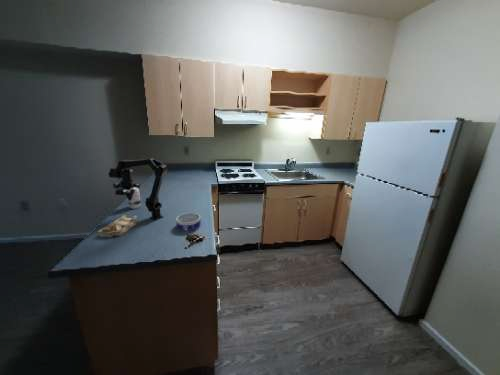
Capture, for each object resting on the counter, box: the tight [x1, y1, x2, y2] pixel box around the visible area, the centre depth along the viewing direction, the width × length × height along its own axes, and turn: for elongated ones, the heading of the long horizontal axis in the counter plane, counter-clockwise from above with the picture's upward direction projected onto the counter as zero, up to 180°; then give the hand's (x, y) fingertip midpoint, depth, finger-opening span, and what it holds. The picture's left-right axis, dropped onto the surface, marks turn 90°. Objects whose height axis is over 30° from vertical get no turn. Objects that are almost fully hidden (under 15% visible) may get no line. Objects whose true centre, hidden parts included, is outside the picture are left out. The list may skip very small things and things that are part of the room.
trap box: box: [97, 214, 138, 238], centre depth 135 cm, size 24×12×3 cm, turn 173°
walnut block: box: [101, 223, 117, 232], centre depth 128 cm, size 6×4×4 cm, turn 173°
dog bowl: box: [175, 212, 202, 232], centre depth 140 cm, size 15×15×6 cm
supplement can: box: [128, 187, 142, 209], centre depth 165 cm, size 8×8×15 cm
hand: (130, 200), depth 148 cm, fingers closed
